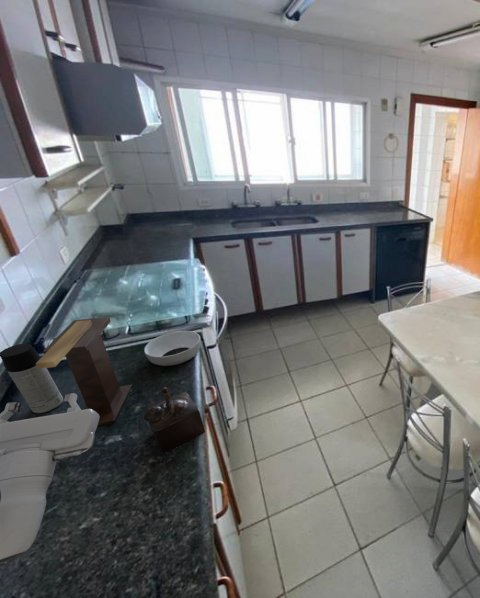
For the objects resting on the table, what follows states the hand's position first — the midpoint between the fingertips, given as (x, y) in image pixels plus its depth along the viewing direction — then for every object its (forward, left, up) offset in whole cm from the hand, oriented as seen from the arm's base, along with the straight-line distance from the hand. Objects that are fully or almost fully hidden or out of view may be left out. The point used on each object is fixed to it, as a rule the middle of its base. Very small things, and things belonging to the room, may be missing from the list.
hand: (43, 398), depth 71 cm
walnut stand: (0, +21, -21) cm, 29 cm away
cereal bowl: (+14, +43, -21) cm, 50 cm away
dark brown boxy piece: (+22, +1, -21) cm, 31 cm away
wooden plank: (0, +15, +5) cm, 15 cm away
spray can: (-16, +26, -21) cm, 37 cm away
